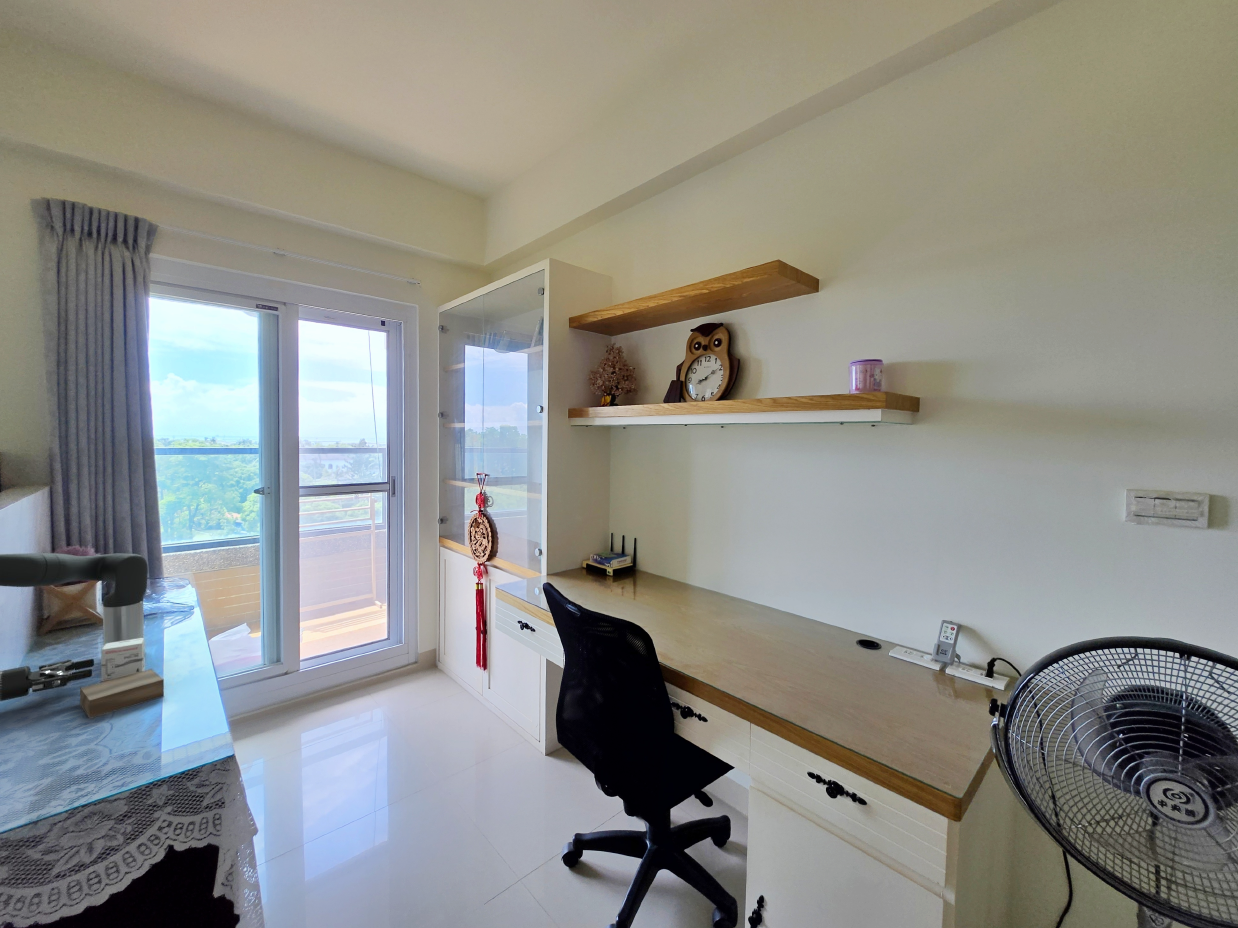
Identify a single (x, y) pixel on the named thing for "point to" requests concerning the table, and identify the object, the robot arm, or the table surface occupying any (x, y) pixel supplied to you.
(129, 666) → the ink box
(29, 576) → the robot arm
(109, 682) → the walnut block
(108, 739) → the table surface
